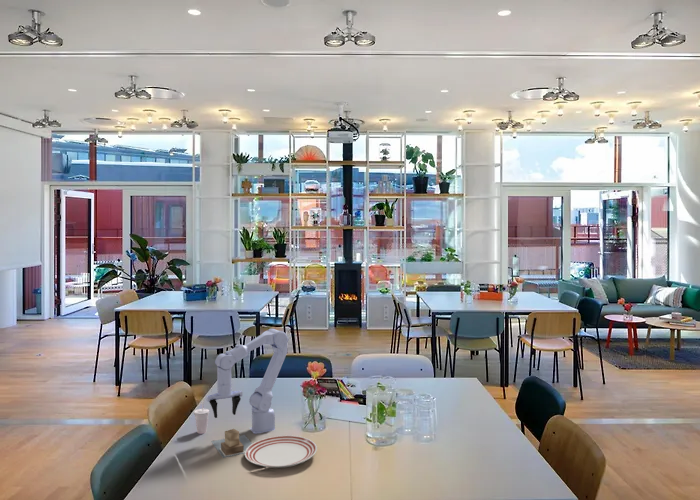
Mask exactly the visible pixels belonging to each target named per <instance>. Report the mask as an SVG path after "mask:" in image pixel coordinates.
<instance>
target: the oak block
mask: <svg viewBox="0 0 700 500" xmlns="http://www.w3.org/2000/svg"><path fill="white" fill-rule="evenodd" d="M239 436H240V430H239V431H238V430H237V429H235V428H232V429H229V430H228V429H227V430H225V431H224V439H225V444H226V445H228V446H229V447H232V446H235V445H238V444H239Z"/></svg>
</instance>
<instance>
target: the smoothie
mask: <svg viewBox="0 0 700 500" xmlns="http://www.w3.org/2000/svg"><path fill="white" fill-rule="evenodd" d="M204 402H205V401H204V400H202V401H201V406H202V407H201V408H198V409H195V410H194V412H193V415H194V417H195V425H196V432H197V434H199V435H201V434H206V433H207V432H208V424H209V414H210V409H208V408H205V406H204V404H205V403H204Z"/></svg>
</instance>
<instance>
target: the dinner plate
mask: <svg viewBox="0 0 700 500" xmlns="http://www.w3.org/2000/svg"><path fill="white" fill-rule="evenodd" d="M317 451H318V446H317V444H316V443H315V442H314V441H313V440H311V439H310V438H307V437H304V436H299V435H292V434H291V435H286V434H285V435H276V436H270V437H265V438H262V439H259V440H257V441H255V442H252V444H251V445H250V446H249V447H248V448H247V449H246V450H245V454H244V458H245V459H246V460H247V462H249V463H251V464H254V465H256V466H261V467H265V468H276V469H277V468H278V469H279V468H280V469H281V468H288V467H294V466H297V465H299V464H304V463H305V462H306V461H308V460H310V459H312V458H313V457H314V456H315V454H316V453H317Z"/></svg>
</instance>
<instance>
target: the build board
mask: <svg viewBox="0 0 700 500" xmlns="http://www.w3.org/2000/svg"><path fill="white" fill-rule="evenodd" d="M239 441H240V442H241V443H242V444H243V445H244V452H241V453H236V454H231V455H225V454H224V452H223V451H222V450H221V443H222V442H225V438H221V439H217V440H211V443H212V444H213V446H214V448H215V449H216V450H217V451H218V453H219V455H220V456H221V457H222V458H223V459H225V458H229V457H234V456H238V455H243V454H244V455H245V450H246V449H247V448H248V447H249V446H250V445H251V444H253V442H251V440H250V439H249V438H248V437H247V436H246V434H242V435H239Z"/></svg>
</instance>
